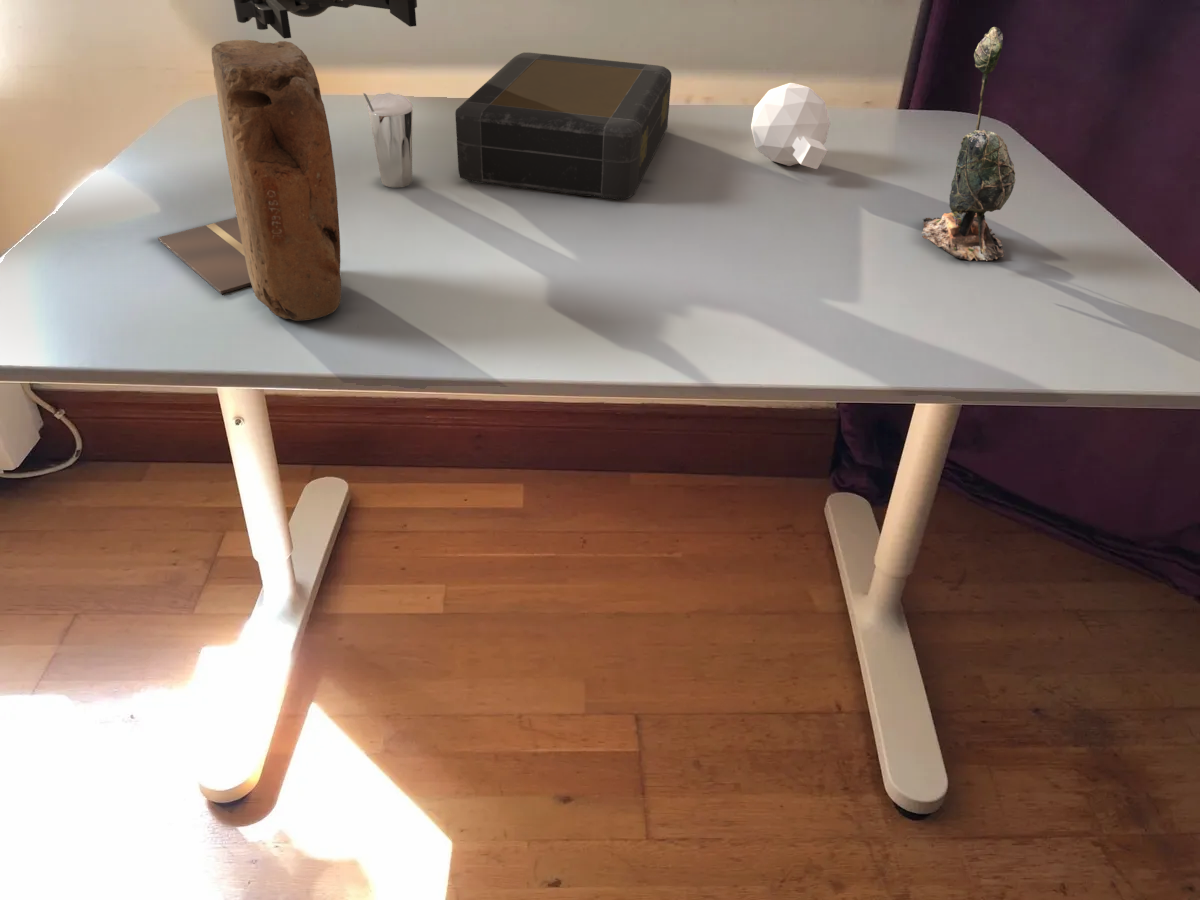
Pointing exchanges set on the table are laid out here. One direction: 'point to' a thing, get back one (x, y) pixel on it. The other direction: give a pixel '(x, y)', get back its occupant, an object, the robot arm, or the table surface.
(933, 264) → the table surface
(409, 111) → the milkshake
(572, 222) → the table surface
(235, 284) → the brown rectangular board
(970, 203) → the plant with pod
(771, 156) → the perfume bottle
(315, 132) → the block
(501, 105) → the cash box
